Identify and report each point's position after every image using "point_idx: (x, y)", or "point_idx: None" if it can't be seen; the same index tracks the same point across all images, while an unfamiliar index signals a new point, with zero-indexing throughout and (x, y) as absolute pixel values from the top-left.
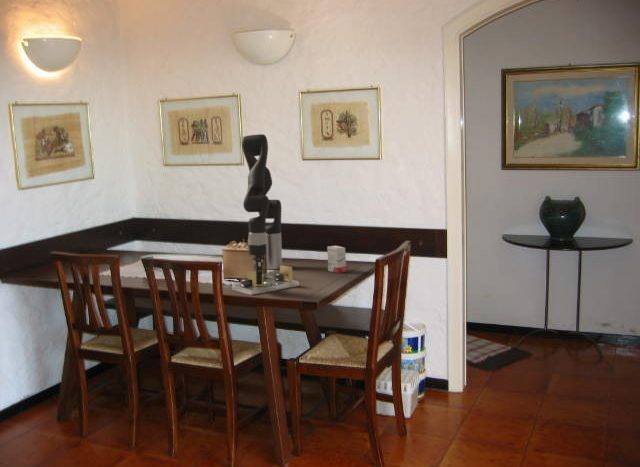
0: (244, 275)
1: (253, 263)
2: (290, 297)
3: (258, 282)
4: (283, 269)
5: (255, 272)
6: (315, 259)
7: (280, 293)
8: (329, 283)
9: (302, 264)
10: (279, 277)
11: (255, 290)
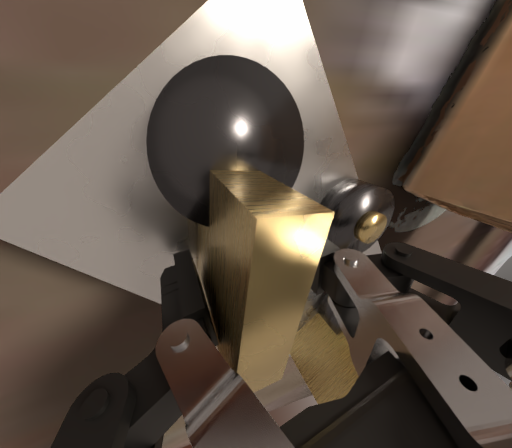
0: (476, 107)
1: (477, 371)
2: (18, 431)
3: (163, 282)
4: (353, 368)
5: (234, 330)
6: (489, 265)
7: (129, 351)
8: (294, 382)
9: (479, 256)
10: (329, 312)
11: (48, 250)
